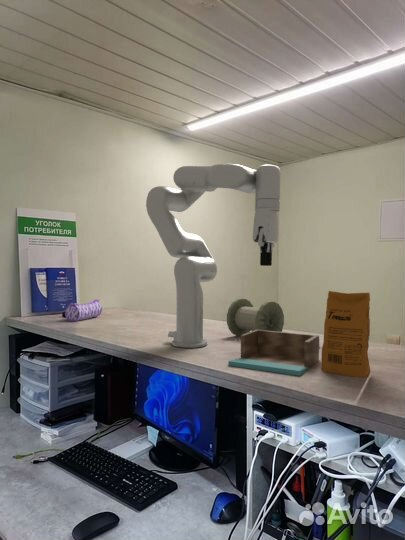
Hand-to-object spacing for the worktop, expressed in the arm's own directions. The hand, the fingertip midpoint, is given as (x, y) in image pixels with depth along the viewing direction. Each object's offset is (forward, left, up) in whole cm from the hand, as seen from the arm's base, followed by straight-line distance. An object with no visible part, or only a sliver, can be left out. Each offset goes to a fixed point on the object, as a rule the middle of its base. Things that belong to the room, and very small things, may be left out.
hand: (265, 265), depth 125 cm
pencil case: (-110, +33, -29) cm, 119 cm away
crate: (+6, -4, -29) cm, 29 cm away
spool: (-15, +29, -29) cm, 44 cm away
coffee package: (+25, -7, -29) cm, 39 cm away
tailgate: (+6, -10, -28) cm, 30 cm away
